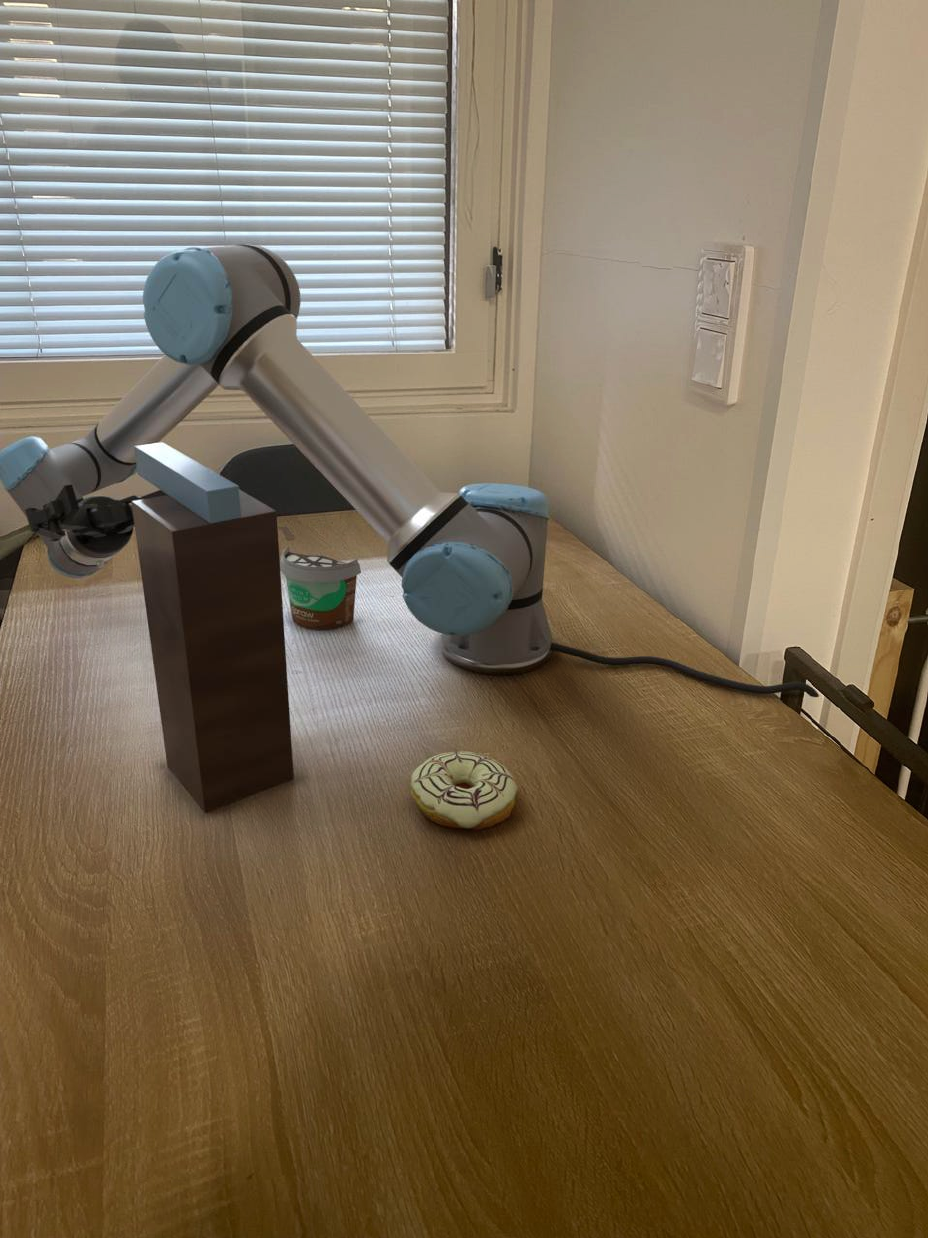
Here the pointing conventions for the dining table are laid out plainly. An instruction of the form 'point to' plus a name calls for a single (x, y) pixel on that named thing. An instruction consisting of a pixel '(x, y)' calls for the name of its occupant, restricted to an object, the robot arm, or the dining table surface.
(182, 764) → the stand
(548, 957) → the dining table surface
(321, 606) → the food container
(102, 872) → the dining table surface
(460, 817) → the decorated donut
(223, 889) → the dining table surface
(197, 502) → the bar
